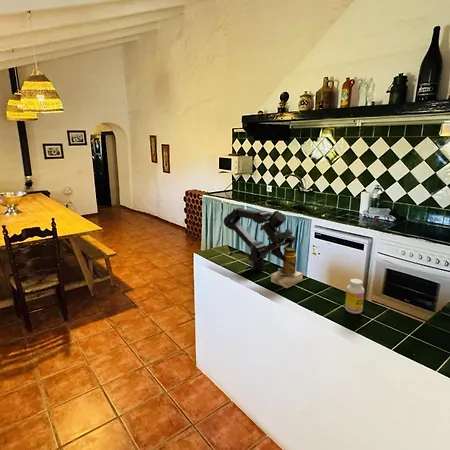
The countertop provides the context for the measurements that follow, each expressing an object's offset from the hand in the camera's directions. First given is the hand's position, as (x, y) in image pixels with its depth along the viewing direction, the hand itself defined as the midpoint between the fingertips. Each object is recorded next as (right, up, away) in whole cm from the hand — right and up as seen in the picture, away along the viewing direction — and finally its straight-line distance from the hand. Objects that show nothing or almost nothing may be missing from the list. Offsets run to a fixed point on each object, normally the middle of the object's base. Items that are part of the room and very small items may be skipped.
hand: (289, 259), depth 154 cm
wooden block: (-1, -11, +4) cm, 12 cm away
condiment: (-1, -7, +2) cm, 7 cm away
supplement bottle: (+21, -18, -24) cm, 37 cm away
